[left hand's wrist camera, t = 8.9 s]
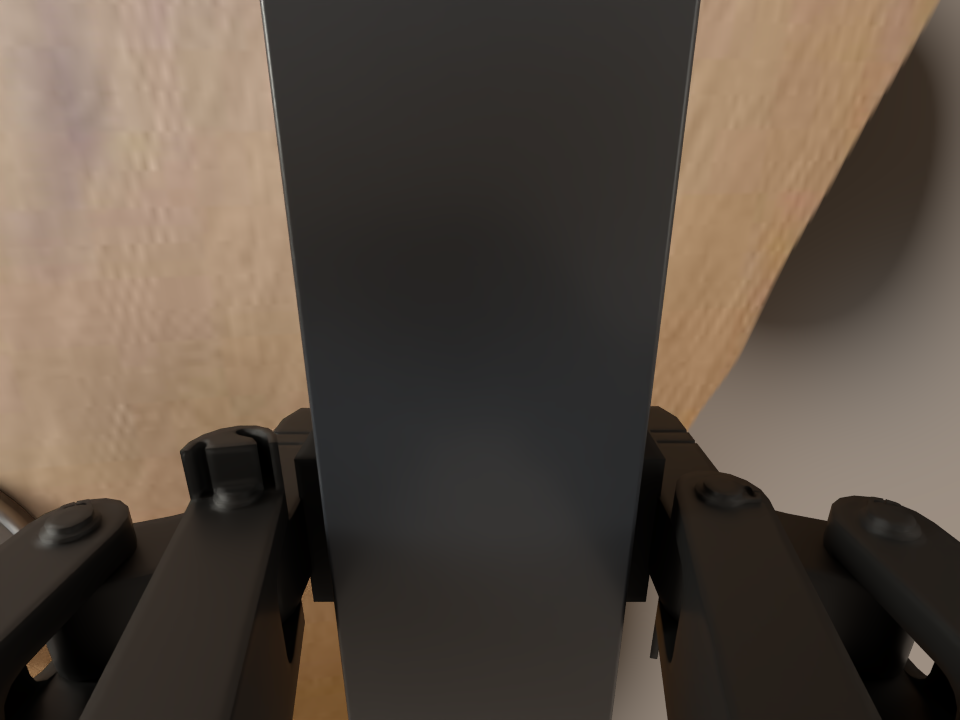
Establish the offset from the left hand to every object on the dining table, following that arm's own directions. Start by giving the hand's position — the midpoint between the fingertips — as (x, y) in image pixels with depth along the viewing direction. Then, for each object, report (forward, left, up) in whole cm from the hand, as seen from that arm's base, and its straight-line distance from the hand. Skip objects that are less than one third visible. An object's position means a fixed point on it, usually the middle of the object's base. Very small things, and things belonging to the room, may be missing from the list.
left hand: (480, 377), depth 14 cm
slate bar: (+8, +5, 0) cm, 10 cm away
